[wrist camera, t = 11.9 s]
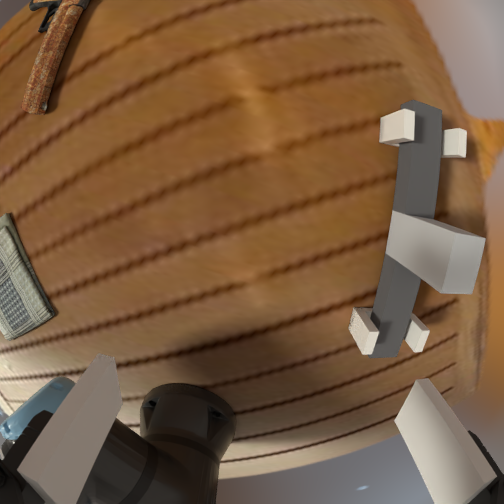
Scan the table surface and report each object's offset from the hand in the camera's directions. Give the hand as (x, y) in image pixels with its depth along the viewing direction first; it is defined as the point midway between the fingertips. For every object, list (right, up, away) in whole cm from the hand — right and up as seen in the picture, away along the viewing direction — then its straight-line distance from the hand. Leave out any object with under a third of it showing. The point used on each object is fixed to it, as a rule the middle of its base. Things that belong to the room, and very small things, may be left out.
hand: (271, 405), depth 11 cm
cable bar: (+17, +8, +20) cm, 27 cm away
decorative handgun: (-31, +40, +14) cm, 52 cm away
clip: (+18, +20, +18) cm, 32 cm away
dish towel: (-42, +1, +25) cm, 49 cm away
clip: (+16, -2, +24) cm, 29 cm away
